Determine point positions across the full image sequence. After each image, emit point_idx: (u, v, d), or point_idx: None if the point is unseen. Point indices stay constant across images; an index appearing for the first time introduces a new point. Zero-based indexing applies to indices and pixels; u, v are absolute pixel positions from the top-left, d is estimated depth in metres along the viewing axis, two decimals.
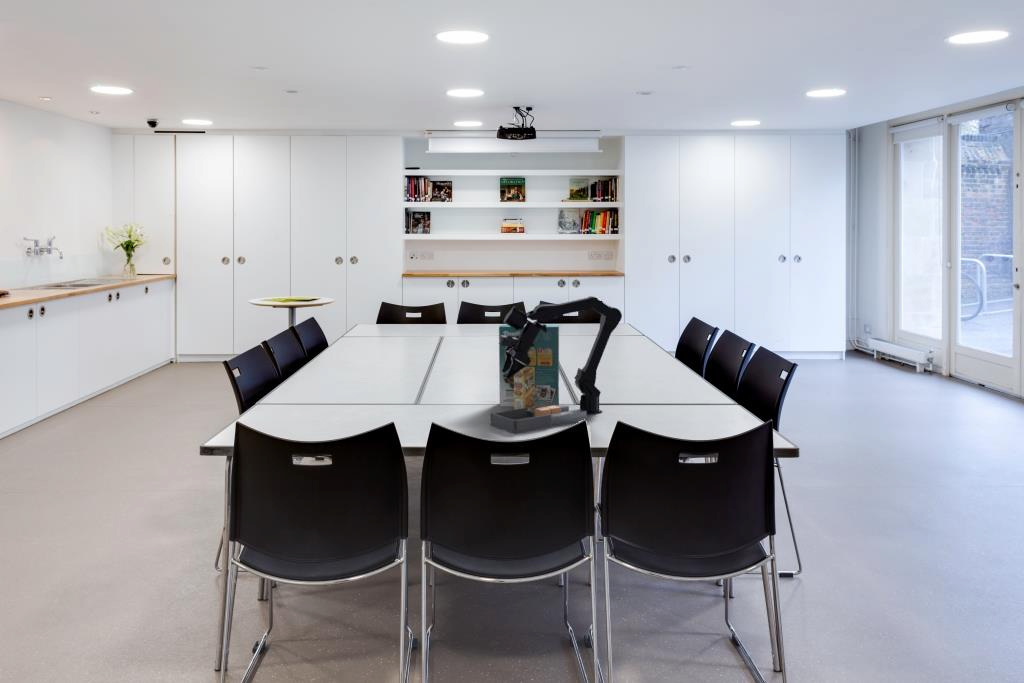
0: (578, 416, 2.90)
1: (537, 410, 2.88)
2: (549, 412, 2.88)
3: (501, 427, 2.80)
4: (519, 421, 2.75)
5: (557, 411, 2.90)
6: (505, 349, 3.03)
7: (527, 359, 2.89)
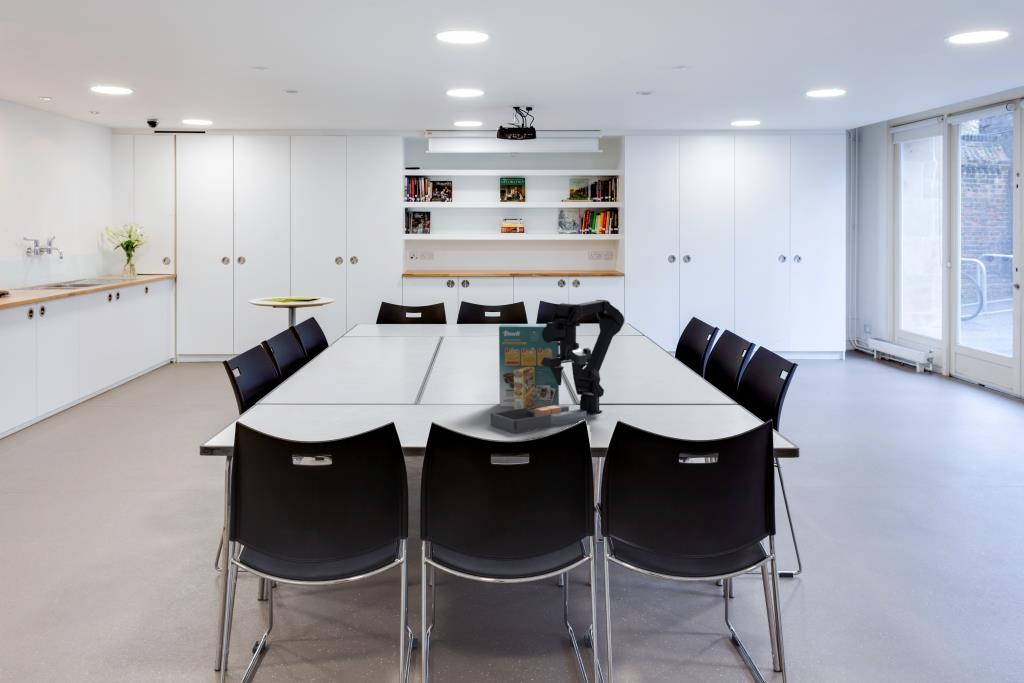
0: (578, 416, 2.90)
1: (537, 410, 2.88)
2: (549, 412, 2.88)
3: (501, 427, 2.80)
4: (519, 421, 2.75)
5: (557, 411, 2.90)
6: (558, 366, 2.87)
7: None
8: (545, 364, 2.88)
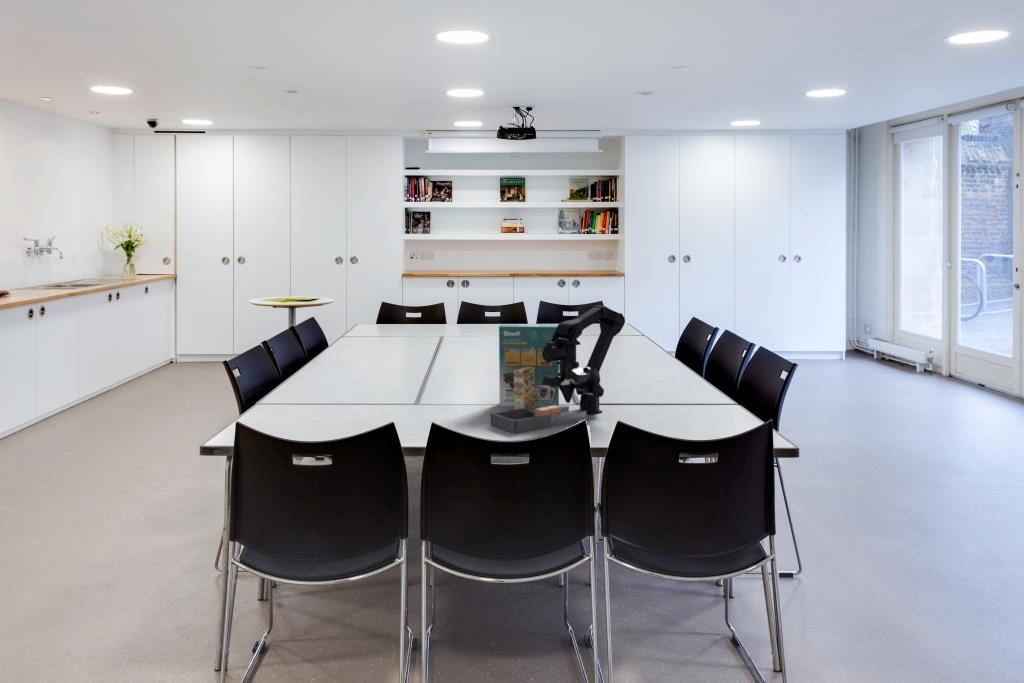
0: (578, 416, 2.90)
1: (537, 410, 2.88)
2: (549, 412, 2.88)
3: (501, 427, 2.80)
4: (519, 421, 2.75)
5: (557, 411, 2.90)
6: (559, 385, 2.88)
7: None
8: (545, 383, 2.89)
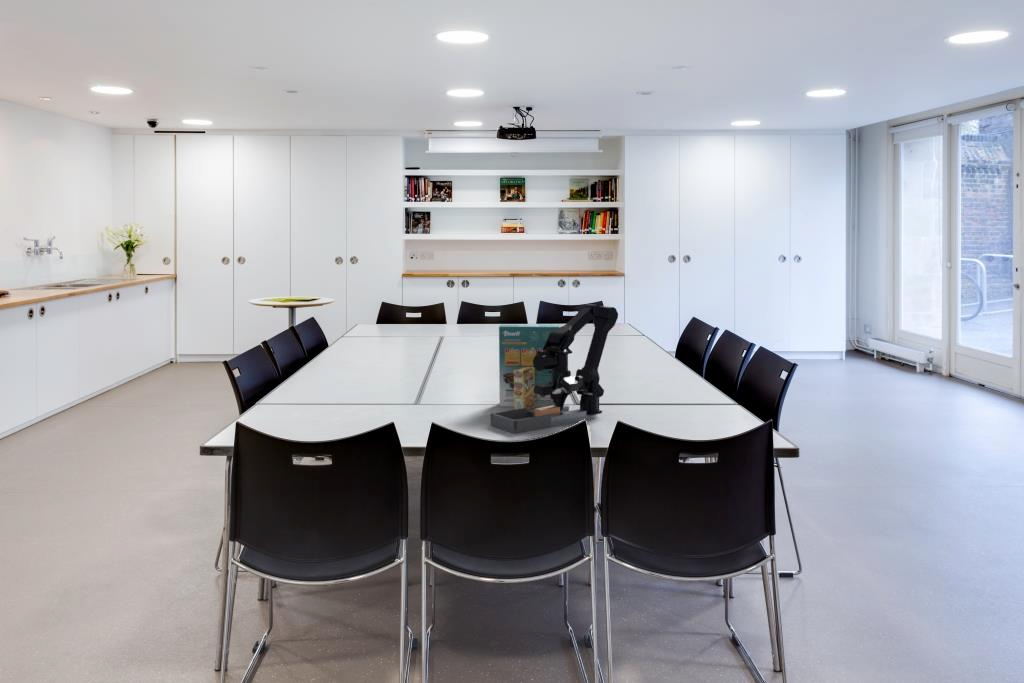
0: (578, 416, 2.90)
1: (537, 410, 2.88)
2: (549, 412, 2.88)
3: (501, 427, 2.80)
4: (519, 421, 2.75)
5: (556, 411, 2.90)
6: (550, 394, 2.86)
7: None
8: (537, 392, 2.87)
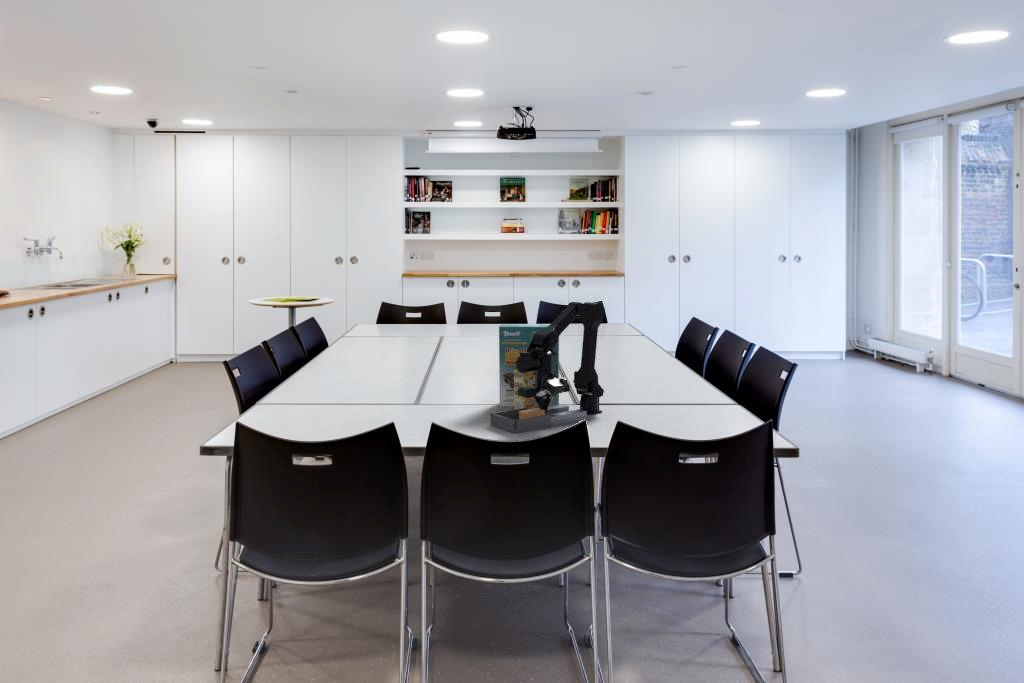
0: (578, 416, 2.90)
1: (521, 413, 2.84)
2: (533, 415, 2.84)
3: (501, 427, 2.80)
4: (519, 421, 2.75)
5: (540, 414, 2.86)
6: (534, 396, 2.82)
7: None
8: (521, 394, 2.83)
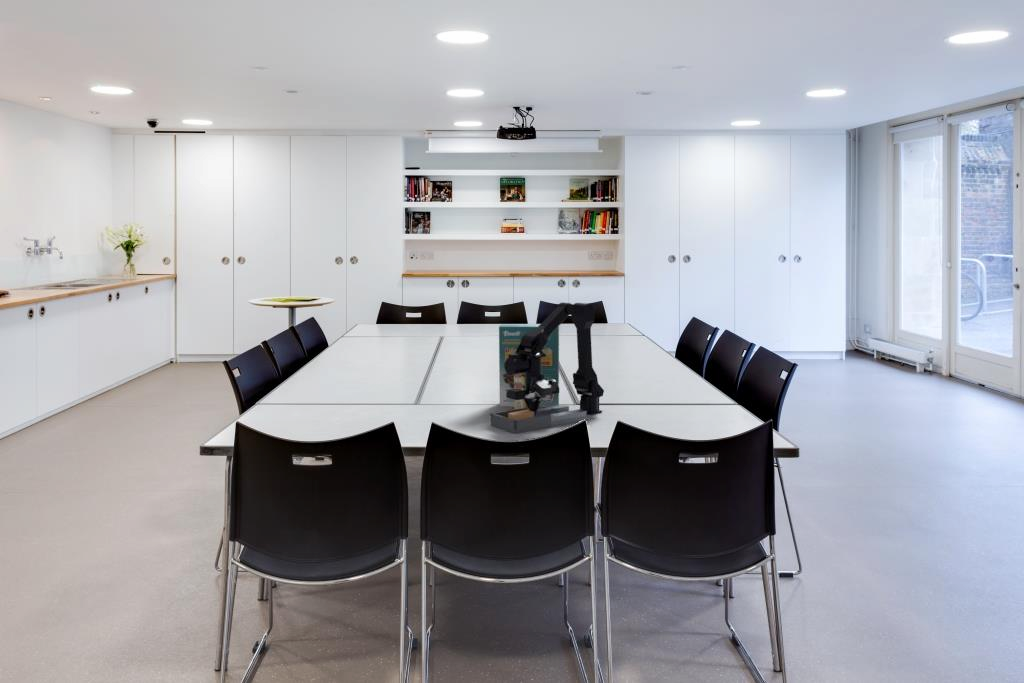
0: (578, 416, 2.90)
1: (510, 415, 2.82)
2: (522, 417, 2.82)
3: (501, 427, 2.80)
4: (519, 421, 2.75)
5: (529, 416, 2.83)
6: None
7: None
8: (509, 397, 2.81)
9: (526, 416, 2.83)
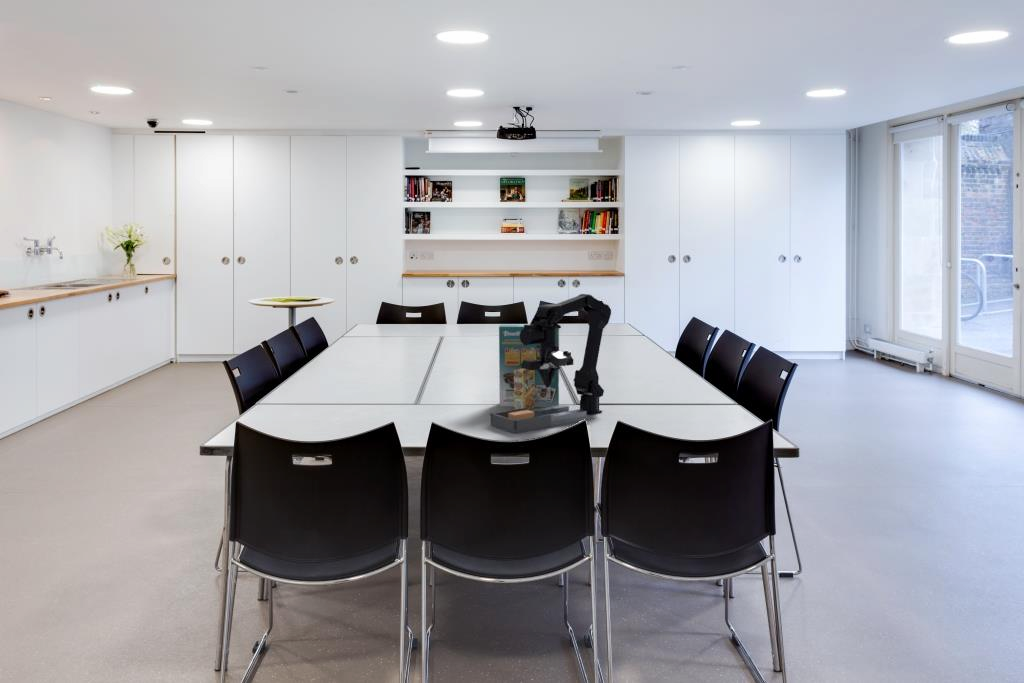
0: (578, 416, 2.90)
1: (510, 415, 2.82)
2: (522, 417, 2.82)
3: (501, 427, 2.80)
4: (519, 421, 2.75)
5: (529, 416, 2.83)
6: (538, 369, 2.82)
7: None
8: (524, 367, 2.83)
9: (526, 416, 2.83)
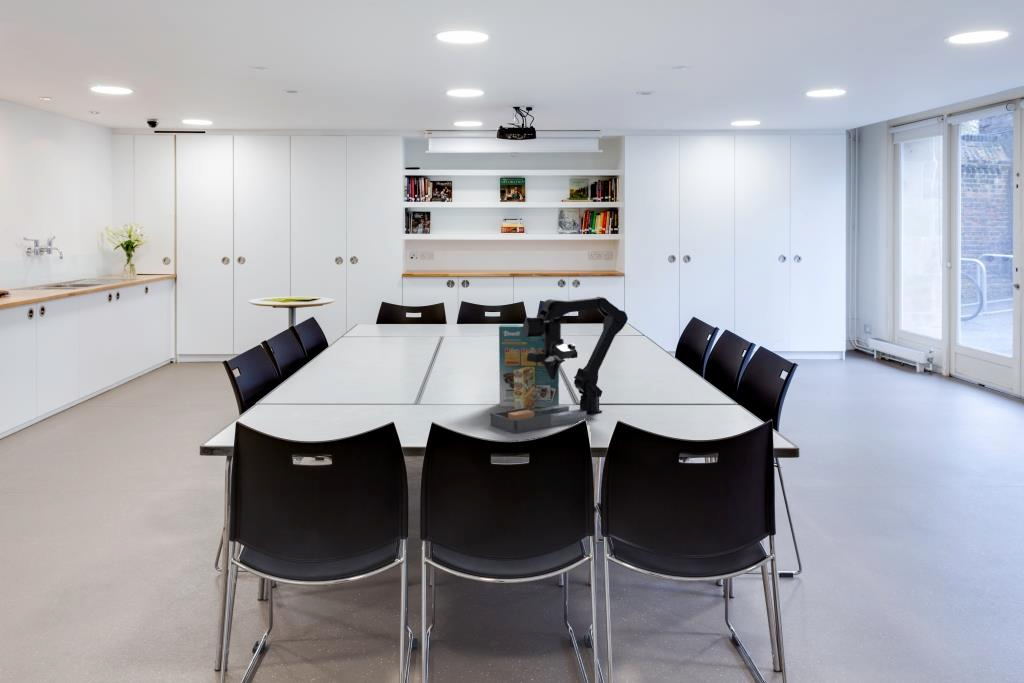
0: (578, 416, 2.90)
1: (510, 415, 2.82)
2: (522, 417, 2.82)
3: (501, 427, 2.80)
4: (519, 421, 2.75)
5: (529, 416, 2.83)
6: (543, 361, 2.91)
7: None
8: (530, 359, 2.92)
9: (526, 416, 2.83)
